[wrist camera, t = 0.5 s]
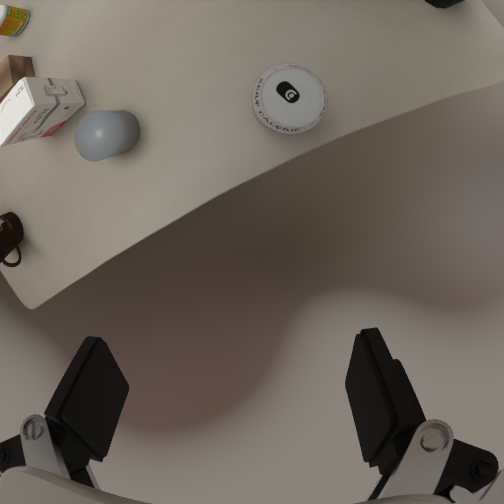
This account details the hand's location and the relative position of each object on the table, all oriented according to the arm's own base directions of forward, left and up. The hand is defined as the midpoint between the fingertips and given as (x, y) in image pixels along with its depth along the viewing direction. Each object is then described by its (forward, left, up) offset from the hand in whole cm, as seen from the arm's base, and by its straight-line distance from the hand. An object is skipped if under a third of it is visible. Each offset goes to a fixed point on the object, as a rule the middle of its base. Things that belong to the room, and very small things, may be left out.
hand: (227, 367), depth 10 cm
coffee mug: (+4, -44, -30) cm, 53 cm away
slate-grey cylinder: (-9, -17, -30) cm, 35 cm away
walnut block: (-23, -36, -30) cm, 52 cm away
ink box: (-15, -27, -30) cm, 43 cm away
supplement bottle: (-36, -38, -30) cm, 60 cm away
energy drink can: (-10, +4, -30) cm, 32 cm away
